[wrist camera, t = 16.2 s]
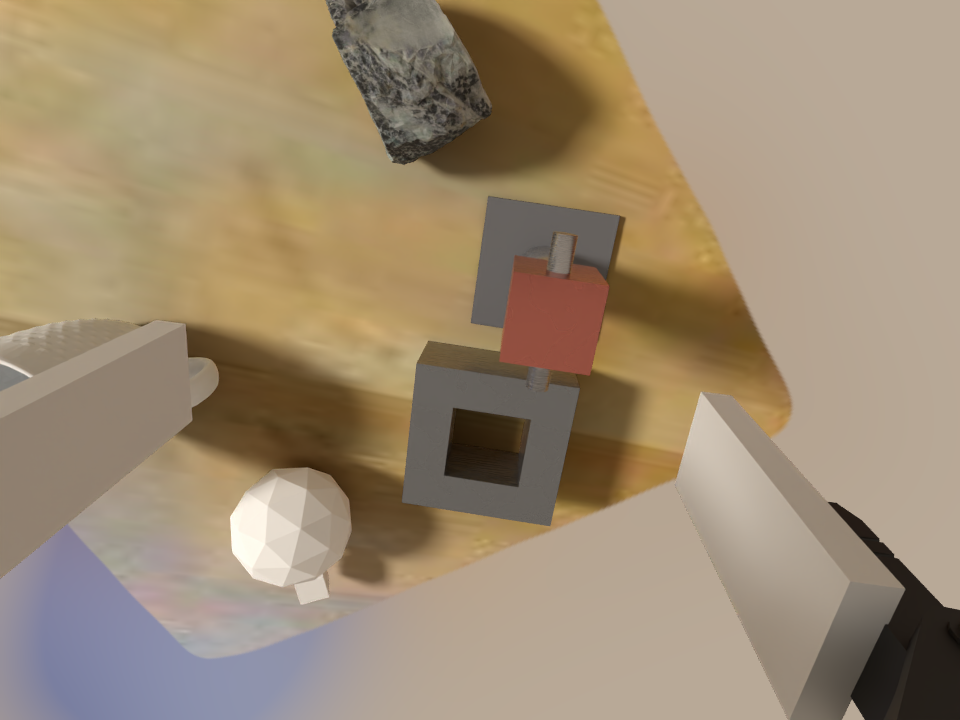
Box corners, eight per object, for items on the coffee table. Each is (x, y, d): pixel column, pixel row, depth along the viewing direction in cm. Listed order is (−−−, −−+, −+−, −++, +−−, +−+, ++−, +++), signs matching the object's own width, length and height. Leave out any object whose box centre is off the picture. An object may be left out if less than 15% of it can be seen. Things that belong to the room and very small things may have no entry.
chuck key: (520, 209, 38) (519, 231, 25) (584, 218, 38) (618, 246, 25) (502, 321, 41) (493, 395, 27) (562, 330, 41) (582, 409, 27)
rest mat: (488, 196, 38) (488, 196, 38) (618, 215, 38) (620, 216, 38) (471, 321, 41) (470, 323, 41) (591, 340, 41) (592, 341, 41)
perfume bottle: (225, 456, 44) (265, 566, 50) (204, 533, 36) (255, 655, 42) (336, 431, 46) (363, 541, 51) (339, 501, 38) (371, 622, 43)
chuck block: (428, 340, 42) (416, 363, 37) (573, 363, 42) (579, 388, 37) (414, 467, 46) (401, 502, 41) (547, 488, 45) (550, 526, 41)
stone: (279, 68, 27) (484, 69, 26) (315, -68, 31) (496, -71, 30) (337, 193, 36) (491, 196, 35) (360, 77, 40) (501, 77, 39)
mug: (232, 283, 42) (111, 333, 29) (270, 417, 45) (177, 512, 33) (52, 308, 43) (-135, 365, 31) (102, 435, 47) (-48, 531, 34)
